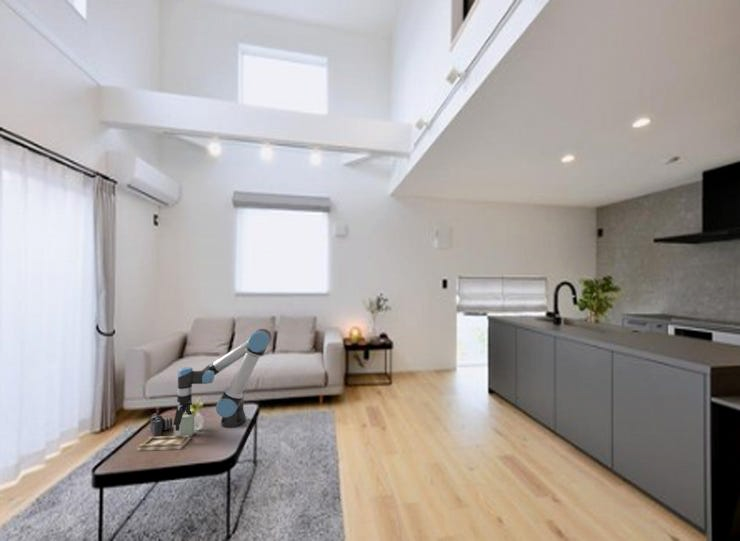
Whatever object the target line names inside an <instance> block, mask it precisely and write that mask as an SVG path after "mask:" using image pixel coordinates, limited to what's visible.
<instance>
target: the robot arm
mask: <svg viewBox="0 0 740 541" xmlns="http://www.w3.org/2000/svg"><path fill="white" fill-rule="evenodd" d="M271 341H272V334H271V332H270V331H269V330H268V329H265V328H260V329H257V330H256V331H254V332H253V333H252V334H251V335H250V336H249V337H248V338H247V340H245V341H244V342H243V343H241V344H239V345H238V346H236V347H234V348H233V349H232V350H230V351H229V352H227V353H226V354H224V355H223V356H220V357H219V358H218V359H216V360H215V361H214V362H212V363H210V364H208V365H207V366H205V367H204V368H203V369H201V370H193V367H191V366H187V367H185V366H184V367H180V368H179V369H178V374H177V388H176V391H177V397H176V398H177V400H176V401H177V403H179V405H177V406H176V409H175V410H176V411H175V416H174V417H175V419H174V418H173V422H172V426H174V425H175V436H180V435H181V424H180V423H181V420H182V416H183V415H184V413H185V412H186V415H193V414H192V413H191V411H190V405H192V406H193V403H192V396H193V394H192V393H193V385H208V384H212V383H213V382H214V380H215V376H216V375H217V374H219V373H220V372H221V371H223V370H225V369H227V368H228V367H230V366H231V365H233V364H234V363H236V362H238V361H239V360H241V359H242V360H241V361H240V364H239V366H238V368H237V370H236V372H235V375H233V378H232V381H231V382H230V384H229V386H226V387H225V388H224V391H223V392H222V395H221V397H220V399H219V400H218V401H217V403H216V405H215V411H216V413H217V415H218V416H220V417H221V419H220V426H221V427H223V428H237V427H240V426H242V425H244V424H245V423H246V421H247V416H246V413H245V409H244V404H245V403H244V397H245V396H244V395H245V394H244V392H245V388H246V385H247V383H248V381H249V380H250V378H251V375H252V374H253V372H254V369H255V367H256V365H257V363H258V361H259V359H260V358H261V357H263V356H264V354H265V352H266V350H267V348H268V346H269V345H270V343H271Z"/></svg>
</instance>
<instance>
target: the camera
mask: <svg viewBox="0 0 740 541" xmlns="http://www.w3.org/2000/svg"><path fill="white" fill-rule="evenodd" d="M172 427H173V418H172V417H163V416H162V415H161V414H159V415H158V413H153V414H151V416H150V432H151V433H152V435H153V436H152V437H157V436H162V431H166V430H170V429H171V428H172Z"/></svg>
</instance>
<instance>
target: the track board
mask: <svg viewBox="0 0 740 541" xmlns="http://www.w3.org/2000/svg"><path fill="white" fill-rule="evenodd" d="M190 439H191V436H189V435H186V436H174V435H165V436H164V435H163V436H162V435H161V436H157V437H154V436H148V437H147V439H146V440H145V441H143V442H142V443H140V444H138V446H137V449H136V451H137V452H143V451H144V452H145V451H147V452H148V451H171V450H181V449H182V448H183V447H184V446H185V445H186V444H187V443H188V442H189V441H190Z"/></svg>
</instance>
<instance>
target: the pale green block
mask: <svg viewBox="0 0 740 541" xmlns="http://www.w3.org/2000/svg"><path fill="white" fill-rule="evenodd" d="M174 419H175V416H174V417H173V420H174ZM180 424H181V435H180V436H186V435H189V437H192V436H193V435H194V433H195V414H191V415H188V414H183V416H182V420H181V423H180ZM173 436H175V425H173Z"/></svg>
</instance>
